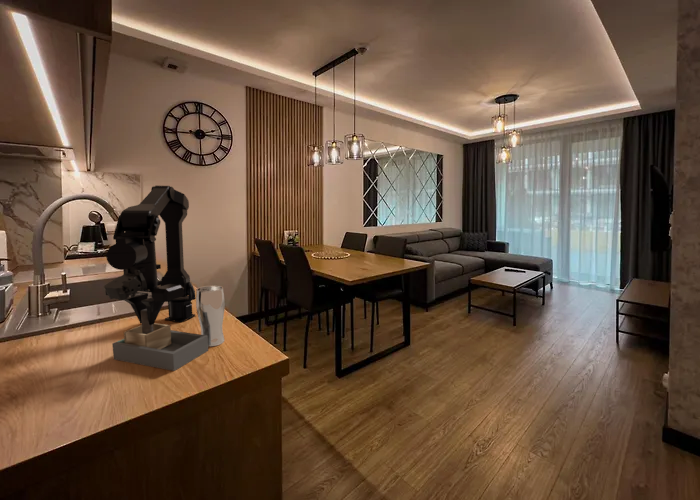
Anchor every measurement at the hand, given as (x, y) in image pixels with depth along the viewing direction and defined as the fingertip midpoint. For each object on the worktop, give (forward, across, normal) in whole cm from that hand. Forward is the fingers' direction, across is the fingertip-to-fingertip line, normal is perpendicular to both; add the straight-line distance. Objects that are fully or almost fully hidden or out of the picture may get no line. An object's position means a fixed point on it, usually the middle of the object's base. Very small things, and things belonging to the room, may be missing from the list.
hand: (147, 323), depth 82 cm
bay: (+8, +4, 0) cm, 9 cm away
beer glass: (+8, +11, +10) cm, 17 cm away
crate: (+6, 0, 0) cm, 6 cm away
